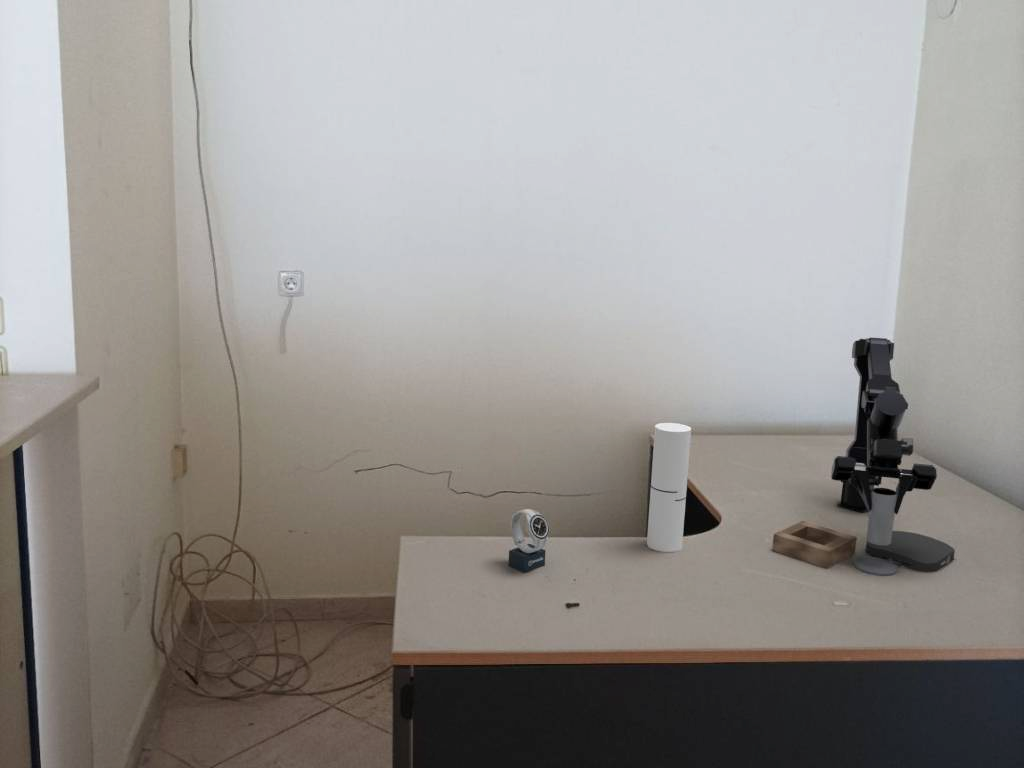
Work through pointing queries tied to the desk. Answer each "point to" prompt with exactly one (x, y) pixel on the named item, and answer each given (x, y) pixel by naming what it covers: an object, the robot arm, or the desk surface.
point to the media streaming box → (913, 551)
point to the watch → (528, 554)
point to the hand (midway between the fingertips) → (883, 511)
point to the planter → (881, 516)
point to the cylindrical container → (668, 486)
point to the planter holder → (814, 544)
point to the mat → (875, 566)
